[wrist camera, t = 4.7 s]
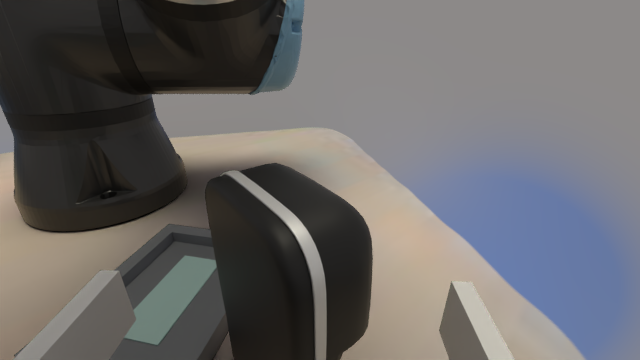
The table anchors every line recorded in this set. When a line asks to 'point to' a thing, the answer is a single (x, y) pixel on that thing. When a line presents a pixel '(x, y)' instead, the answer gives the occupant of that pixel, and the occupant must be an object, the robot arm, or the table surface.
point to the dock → (173, 298)
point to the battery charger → (289, 264)
